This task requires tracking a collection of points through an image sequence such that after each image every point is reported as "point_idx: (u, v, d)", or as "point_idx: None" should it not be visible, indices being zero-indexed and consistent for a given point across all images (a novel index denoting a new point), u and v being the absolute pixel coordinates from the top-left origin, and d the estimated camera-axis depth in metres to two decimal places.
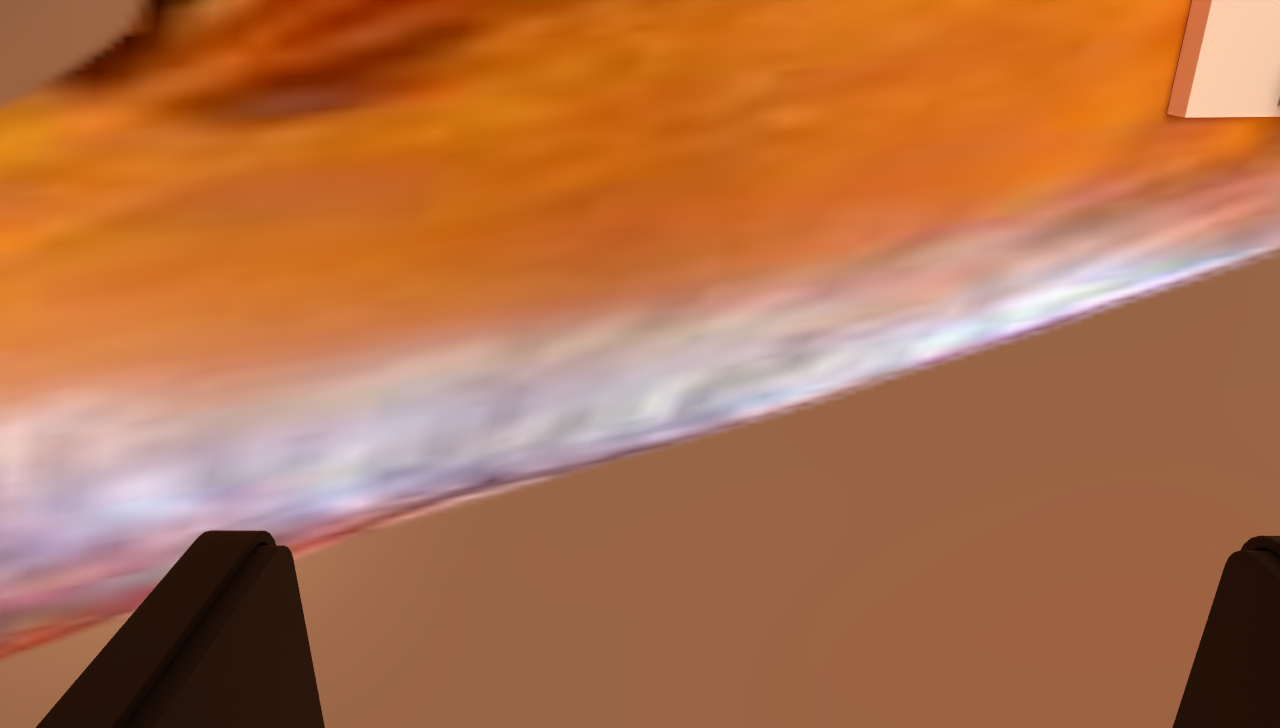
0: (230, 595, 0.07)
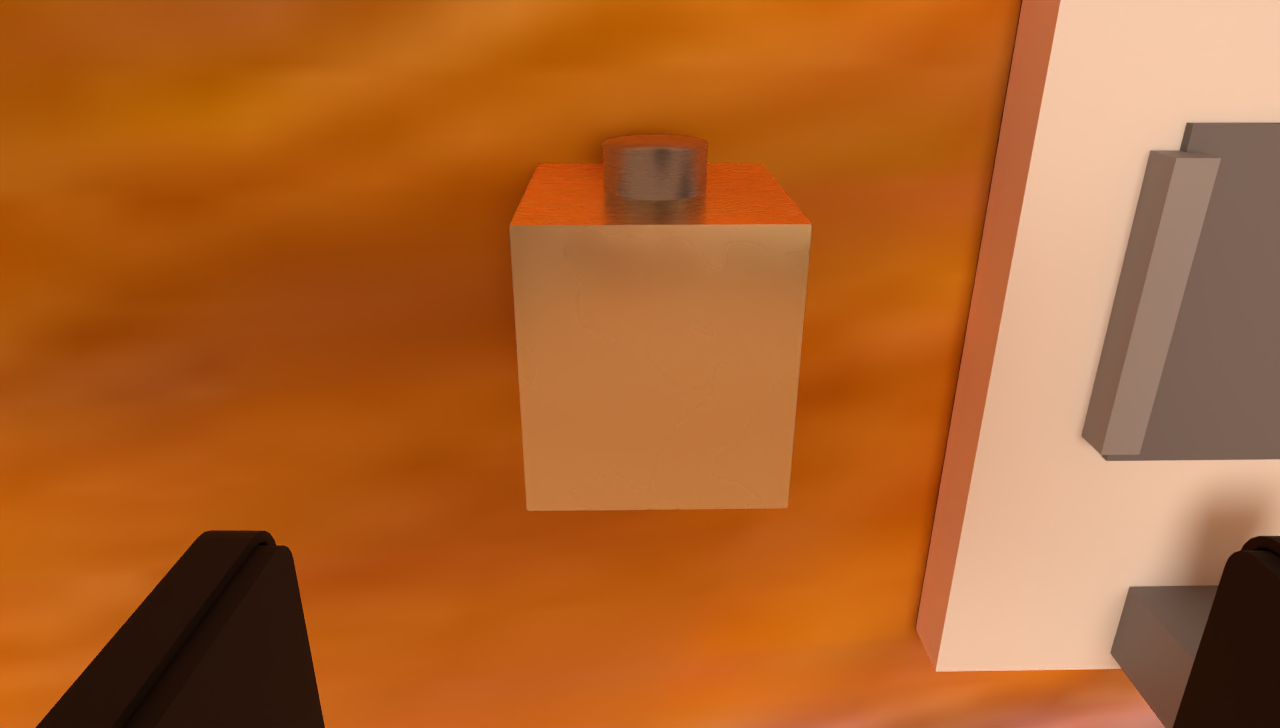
0: (230, 595, 0.07)
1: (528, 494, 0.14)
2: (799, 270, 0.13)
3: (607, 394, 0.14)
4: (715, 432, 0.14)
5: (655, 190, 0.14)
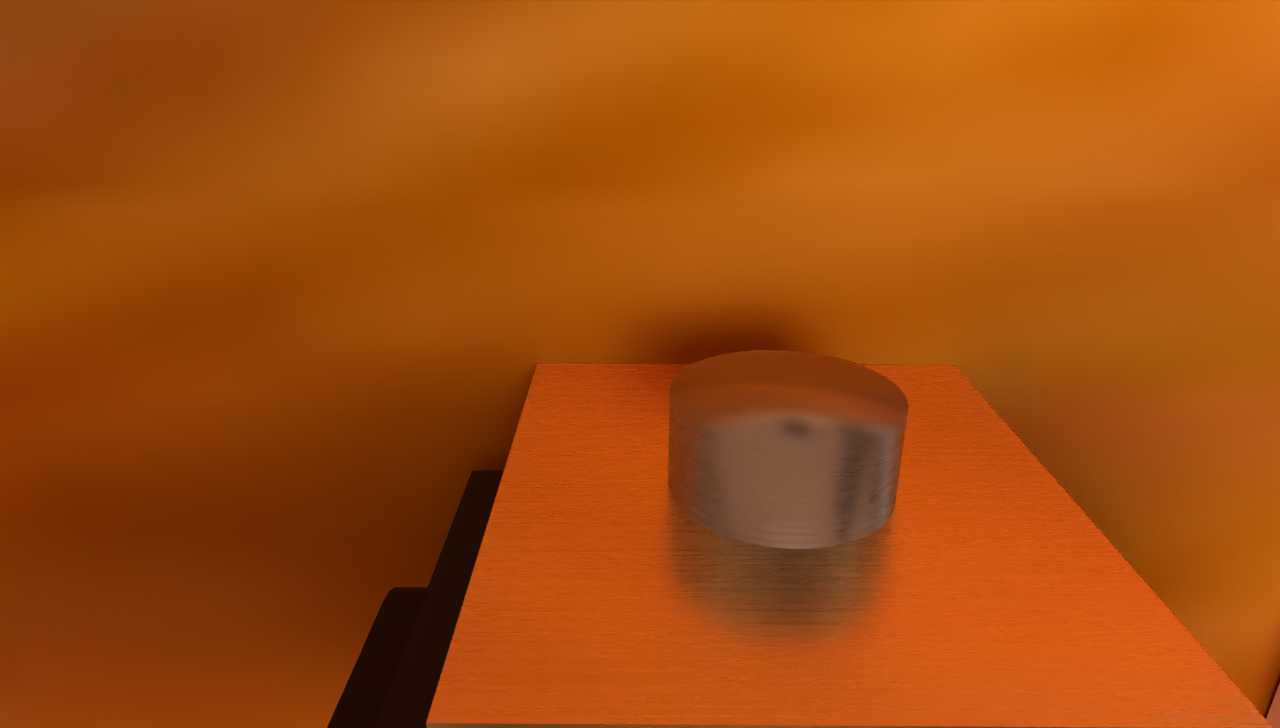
0: None
1: None
2: None
3: None
4: None
5: (796, 528, 0.06)
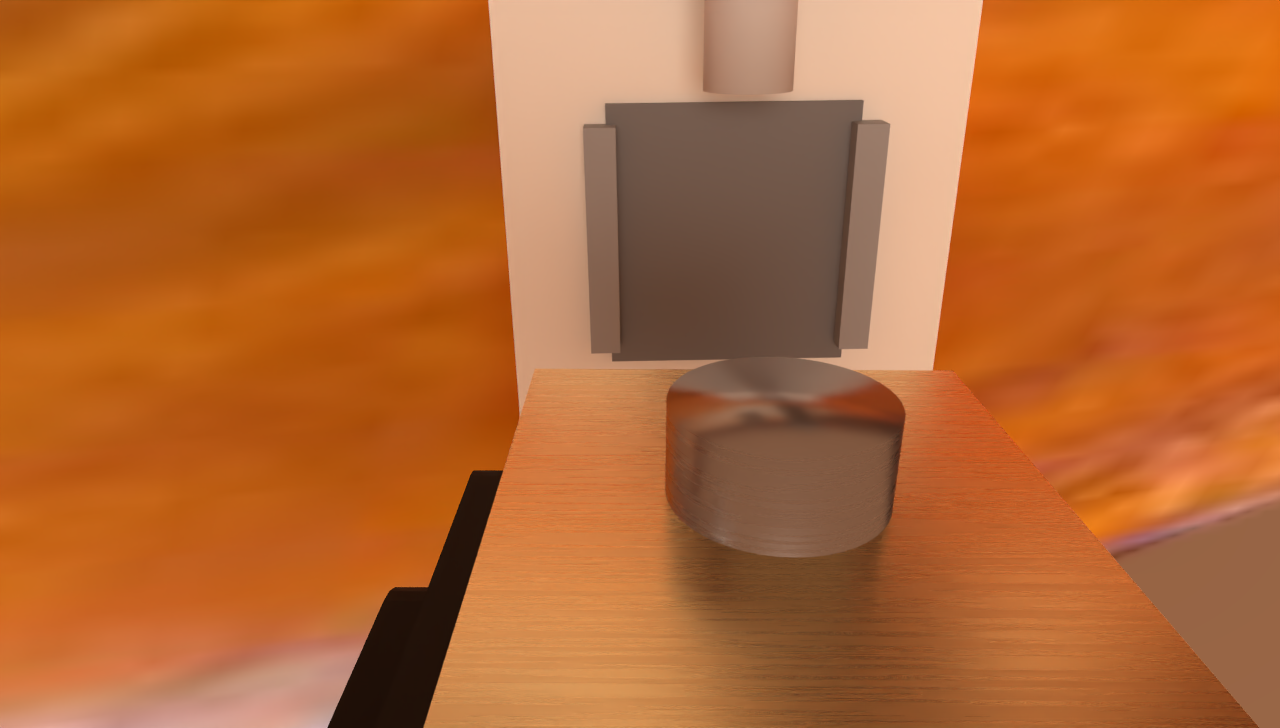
0: None
1: None
2: None
3: None
4: None
5: (793, 537, 0.06)
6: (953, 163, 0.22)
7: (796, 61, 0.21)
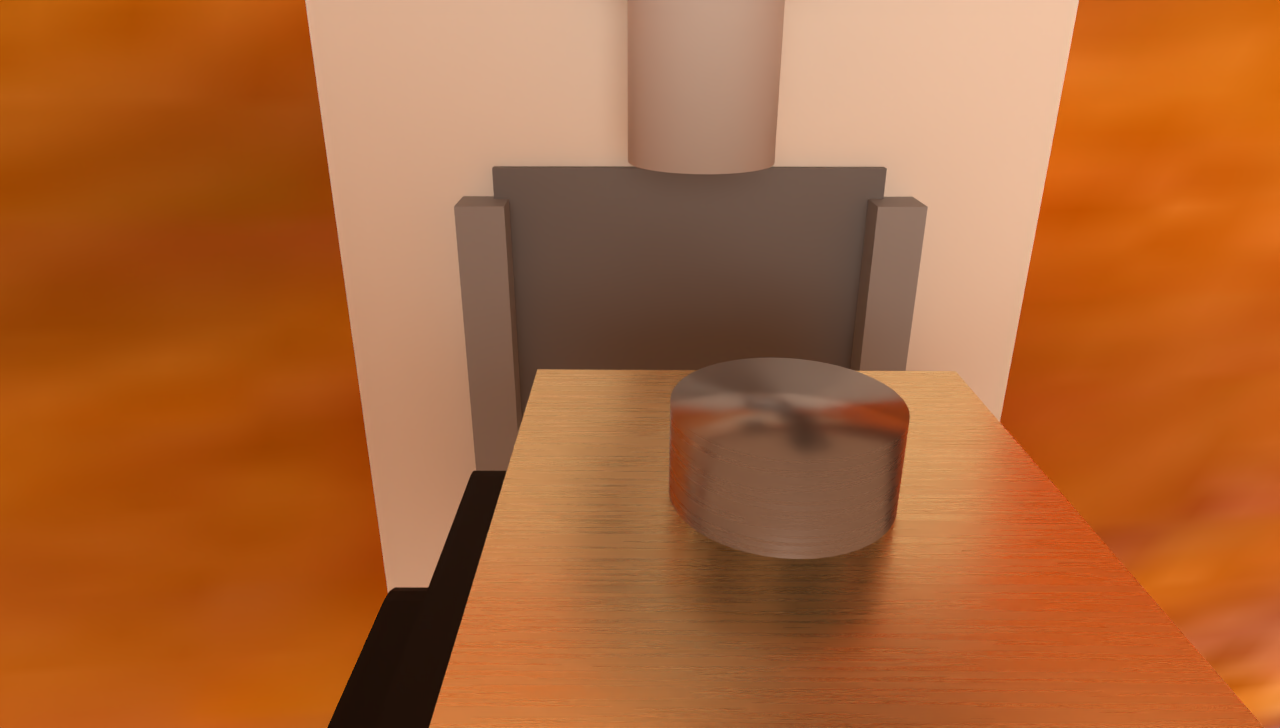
0: None
1: None
2: None
3: None
4: None
5: (797, 538, 0.06)
6: (1018, 261, 0.15)
7: (784, 108, 0.14)
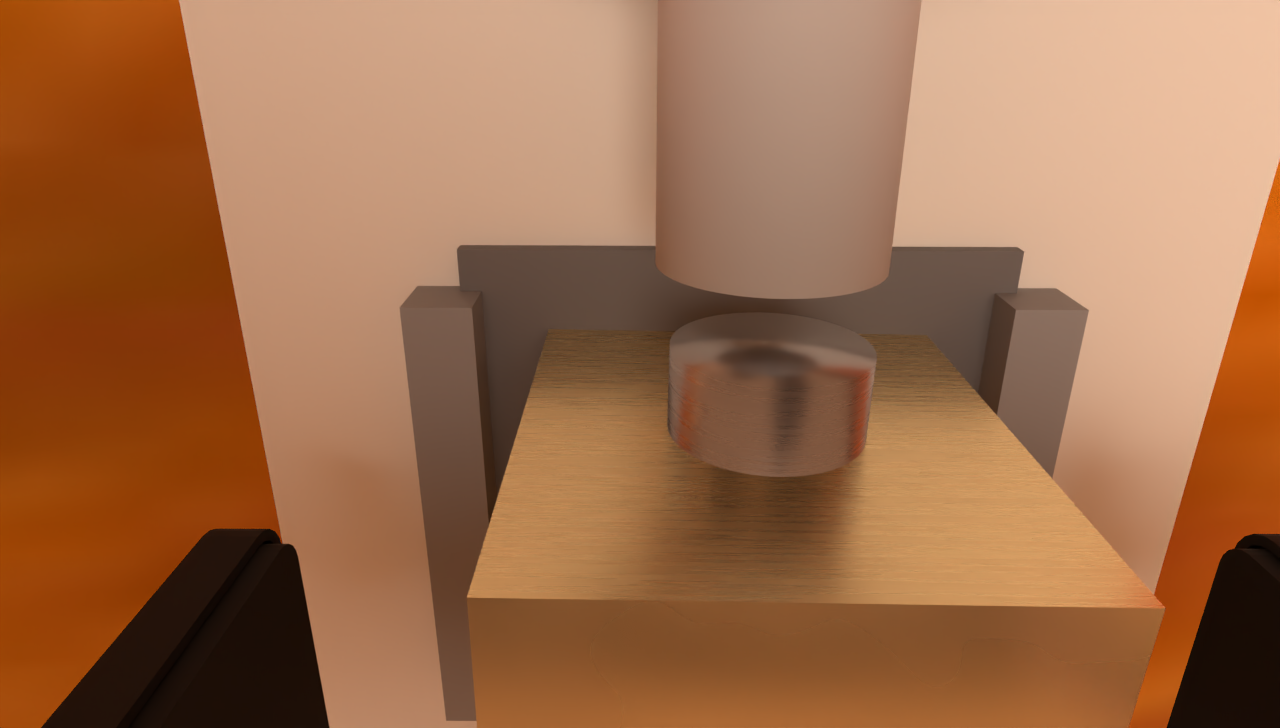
0: (235, 593, 0.07)
1: None
2: (1118, 692, 0.06)
3: None
4: None
5: (778, 458, 0.07)
6: (1201, 376, 0.10)
7: None
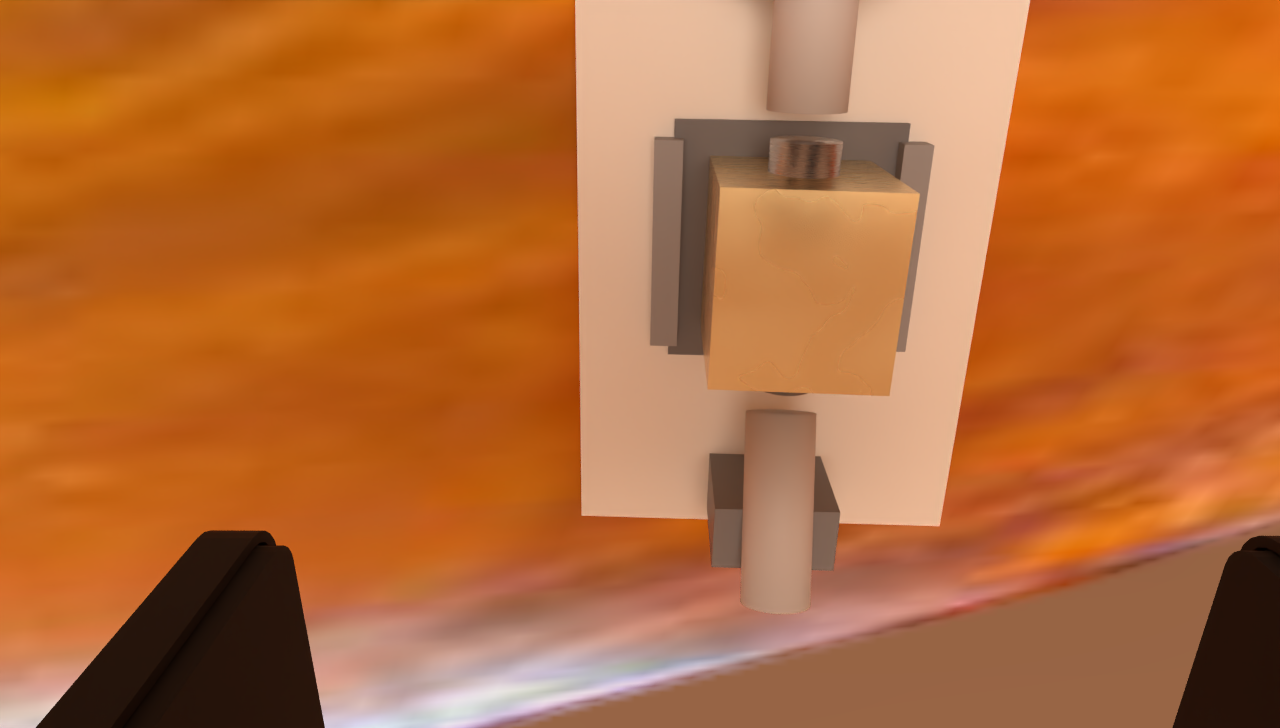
0: (230, 595, 0.07)
1: (710, 377, 0.21)
2: (909, 225, 0.19)
3: (772, 306, 0.20)
4: (843, 337, 0.20)
5: (808, 171, 0.20)
6: (991, 183, 0.24)
7: (850, 86, 0.23)
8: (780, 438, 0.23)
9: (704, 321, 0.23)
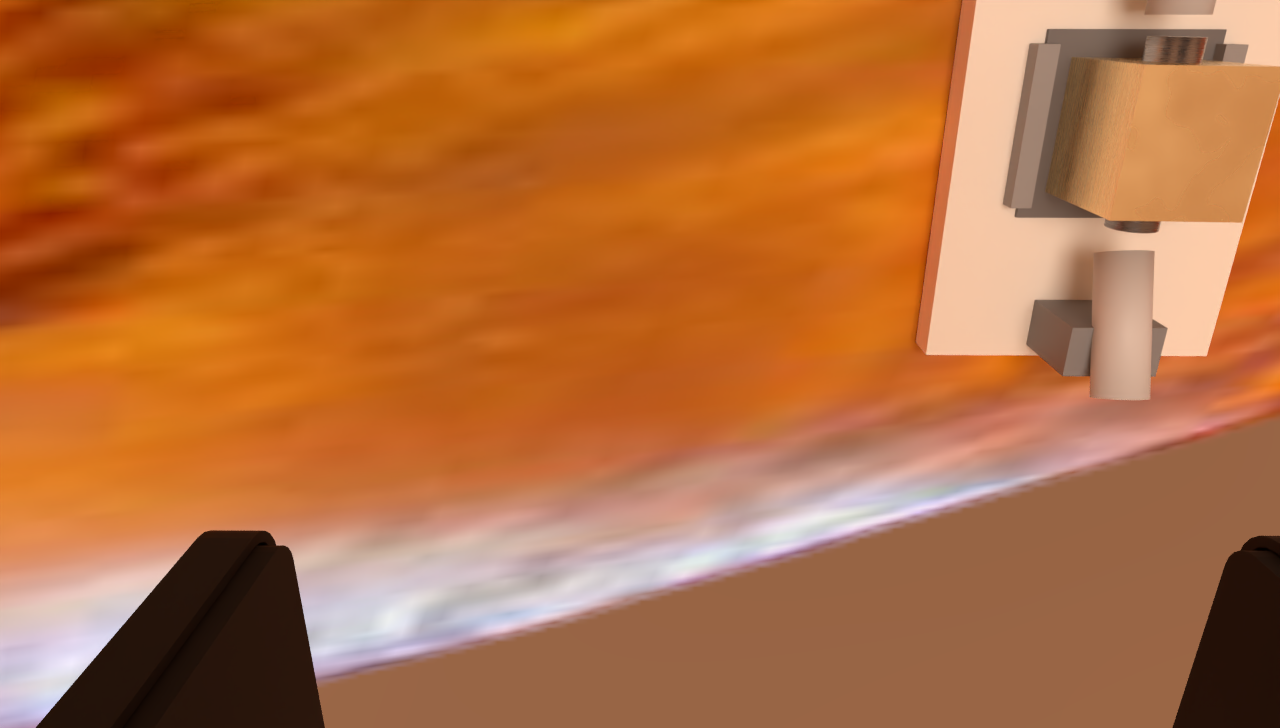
0: (230, 595, 0.07)
1: (1112, 211, 0.29)
2: (1276, 90, 0.27)
3: (1167, 154, 0.28)
4: (1215, 177, 0.28)
5: (1187, 57, 0.28)
6: None
7: None
8: (1134, 267, 0.31)
9: (1074, 181, 0.31)
